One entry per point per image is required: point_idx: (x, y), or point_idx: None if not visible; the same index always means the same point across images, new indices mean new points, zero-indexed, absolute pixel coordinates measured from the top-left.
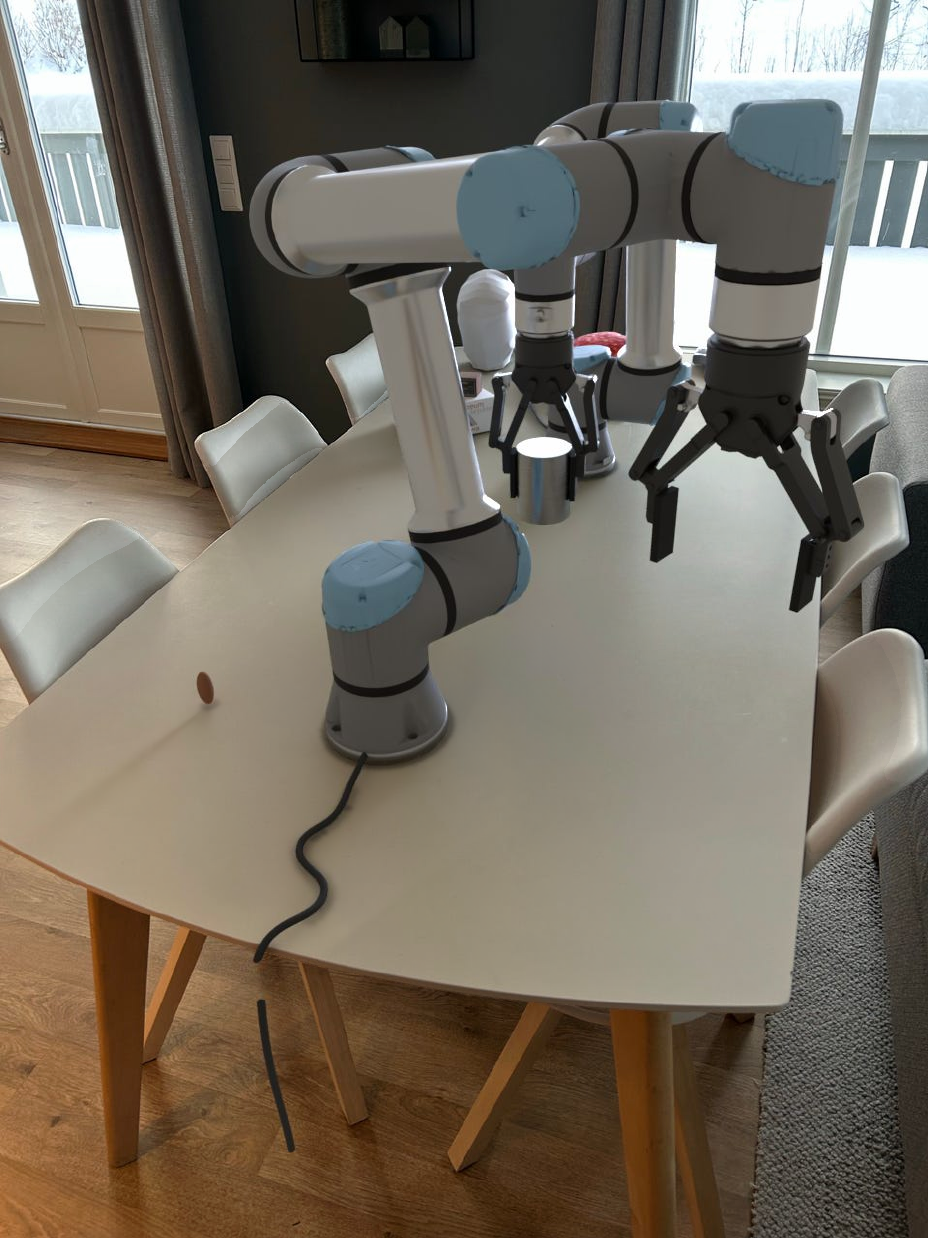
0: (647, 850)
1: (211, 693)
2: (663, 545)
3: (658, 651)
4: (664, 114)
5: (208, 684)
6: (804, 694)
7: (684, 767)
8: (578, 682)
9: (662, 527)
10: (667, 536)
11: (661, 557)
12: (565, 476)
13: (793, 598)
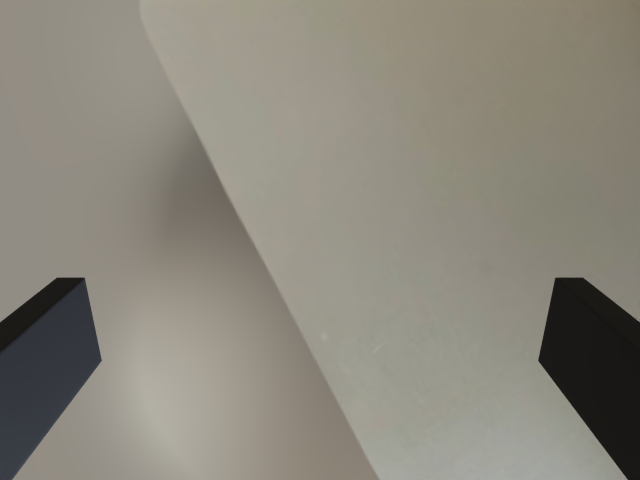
0: (347, 89)
1: None
2: (576, 335)
3: (514, 384)
4: None
5: None
6: (343, 409)
7: (385, 233)
8: None
9: (632, 370)
10: (587, 372)
11: (555, 306)
12: None
13: (51, 298)
